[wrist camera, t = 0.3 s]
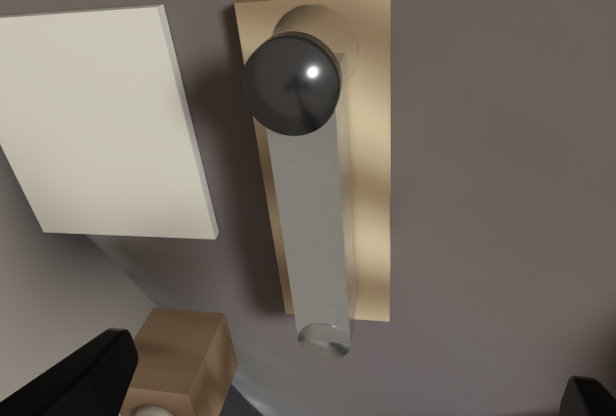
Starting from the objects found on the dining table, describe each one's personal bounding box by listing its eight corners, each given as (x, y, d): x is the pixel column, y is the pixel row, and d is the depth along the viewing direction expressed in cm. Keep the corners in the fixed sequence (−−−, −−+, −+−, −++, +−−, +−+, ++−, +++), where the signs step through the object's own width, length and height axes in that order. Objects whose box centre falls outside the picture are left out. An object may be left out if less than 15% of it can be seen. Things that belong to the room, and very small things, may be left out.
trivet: (219, 232, 26) (215, 239, 26) (50, 226, 29) (43, 232, 28) (163, 3, 20) (157, 7, 19) (-50, 19, 22) (-61, 22, 22)
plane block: (390, 308, 27) (389, 321, 26) (289, 301, 28) (285, 313, 27) (391, -13, 18) (389, -8, 17) (241, -2, 19) (233, 3, 18)
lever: (267, 13, 18) (233, 41, 14) (351, 8, 17) (335, 36, 14) (306, 310, 27) (291, 372, 23) (363, 314, 26) (355, 378, 22)
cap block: (238, 364, 33) (203, 456, 27) (172, 357, 34) (127, 445, 28) (224, 313, 30) (183, 404, 25) (154, 307, 31) (99, 394, 26)
